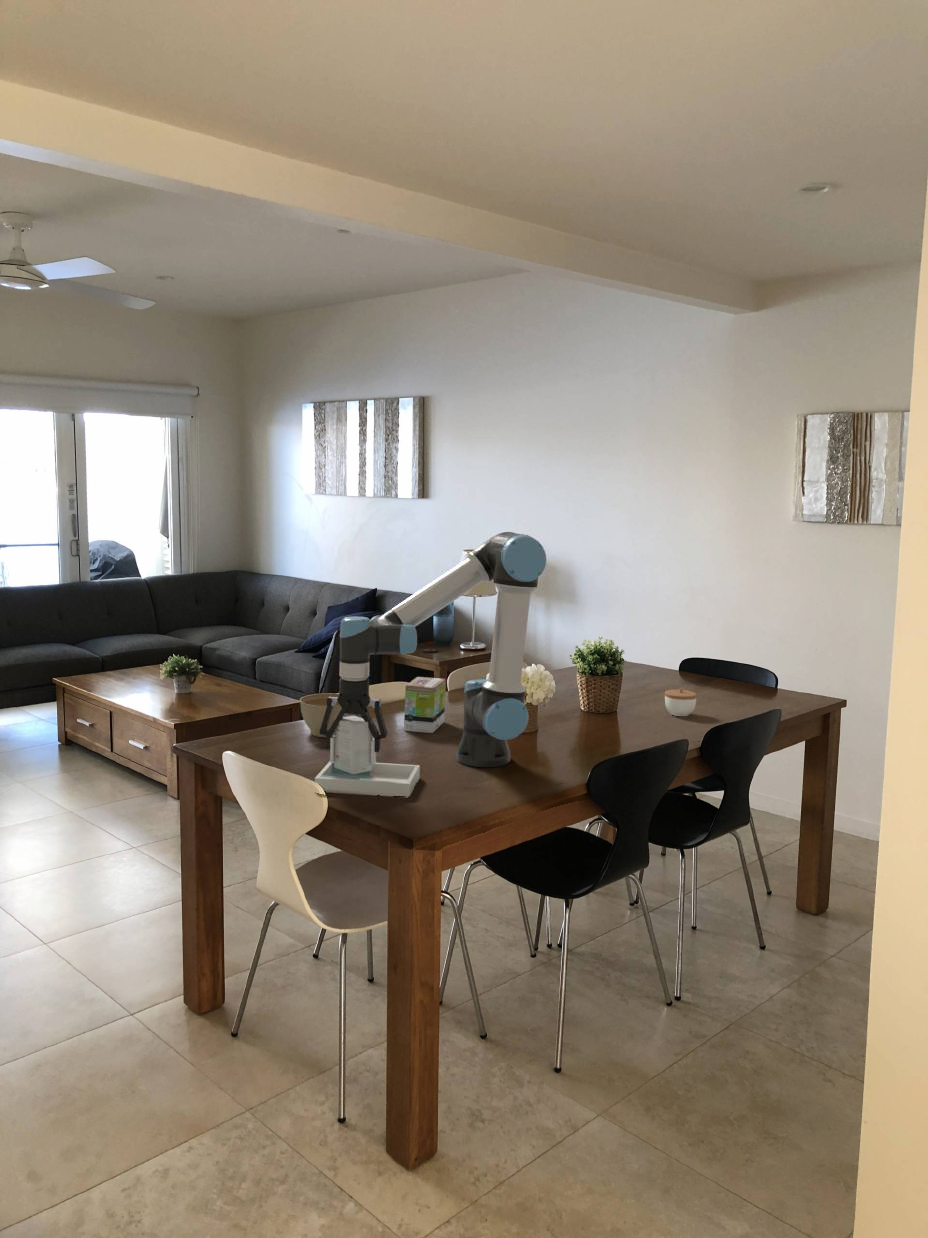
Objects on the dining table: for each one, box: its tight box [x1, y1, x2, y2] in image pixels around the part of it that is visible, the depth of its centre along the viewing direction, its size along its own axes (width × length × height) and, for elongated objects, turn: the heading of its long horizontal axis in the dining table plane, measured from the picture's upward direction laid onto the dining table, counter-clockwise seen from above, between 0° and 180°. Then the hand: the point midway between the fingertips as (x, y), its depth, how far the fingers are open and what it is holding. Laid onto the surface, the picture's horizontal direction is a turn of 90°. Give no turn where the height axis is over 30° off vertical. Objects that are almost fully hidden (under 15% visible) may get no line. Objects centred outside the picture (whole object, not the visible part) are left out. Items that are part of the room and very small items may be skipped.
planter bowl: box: [299, 692, 352, 738], centre depth 300 cm, size 16×16×11 cm
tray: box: [314, 760, 421, 798], centre depth 253 cm, size 24×16×4 cm, turn 83°
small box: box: [334, 715, 373, 774], centre depth 252 cm, size 8×6×13 cm
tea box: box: [403, 676, 447, 734], centre depth 312 cm, size 15×10×15 cm, turn 168°
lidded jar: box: [664, 687, 698, 717], centre depth 336 cm, size 11×11×9 cm
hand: (353, 762), depth 253 cm, fingers closed on small box, 10 cm apart
